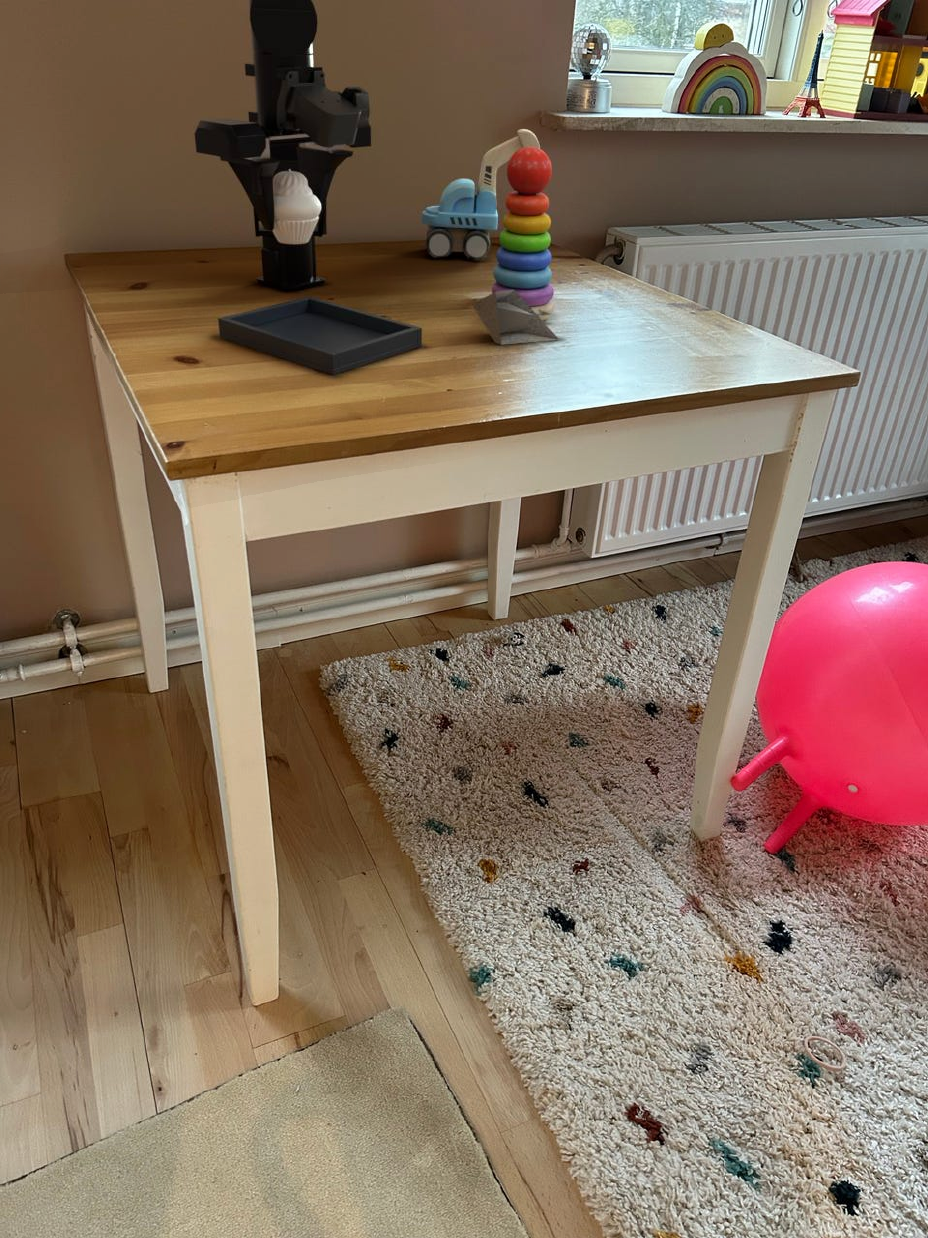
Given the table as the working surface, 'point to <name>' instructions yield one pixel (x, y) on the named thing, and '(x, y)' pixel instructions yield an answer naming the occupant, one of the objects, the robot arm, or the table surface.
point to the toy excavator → (471, 206)
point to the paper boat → (512, 319)
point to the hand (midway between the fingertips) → (292, 226)
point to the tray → (320, 334)
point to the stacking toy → (527, 232)
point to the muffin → (294, 208)
